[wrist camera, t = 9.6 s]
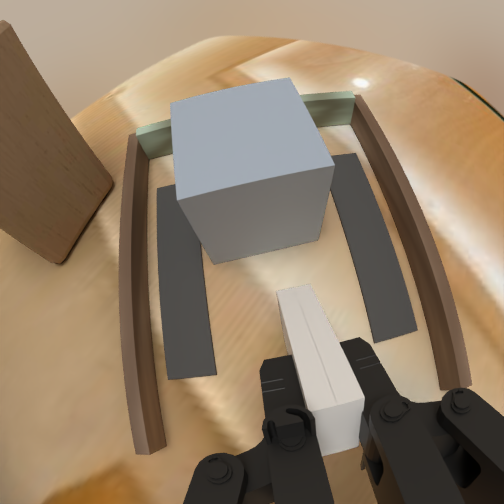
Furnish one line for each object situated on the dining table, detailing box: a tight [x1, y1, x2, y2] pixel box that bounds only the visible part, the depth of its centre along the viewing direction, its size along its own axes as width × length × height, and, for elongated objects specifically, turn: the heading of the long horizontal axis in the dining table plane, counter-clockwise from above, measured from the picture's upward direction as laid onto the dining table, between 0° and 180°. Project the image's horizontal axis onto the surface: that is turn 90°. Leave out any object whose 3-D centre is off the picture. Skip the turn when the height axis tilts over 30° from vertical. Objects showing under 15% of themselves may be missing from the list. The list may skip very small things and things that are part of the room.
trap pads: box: [157, 153, 418, 380], centre depth 22 cm, size 18×16×1 cm
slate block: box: [170, 78, 335, 265], centre depth 20 cm, size 8×8×9 cm
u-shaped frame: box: [119, 91, 472, 455], centre depth 21 cm, size 22×26×4 cm
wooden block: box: [0, 20, 113, 263], centre depth 17 cm, size 10×10×20 cm
